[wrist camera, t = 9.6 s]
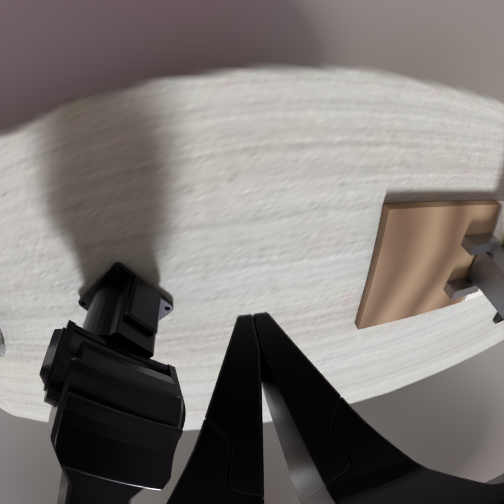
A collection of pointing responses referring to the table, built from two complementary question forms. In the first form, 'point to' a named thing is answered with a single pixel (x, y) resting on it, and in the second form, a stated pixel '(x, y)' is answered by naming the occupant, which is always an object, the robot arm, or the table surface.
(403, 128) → the table surface
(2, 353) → the ceramic mug
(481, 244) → the guide rails
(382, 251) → the door leaf
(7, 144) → the table surface
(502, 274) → the dark square pillar
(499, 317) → the phone
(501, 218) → the jamb plate
